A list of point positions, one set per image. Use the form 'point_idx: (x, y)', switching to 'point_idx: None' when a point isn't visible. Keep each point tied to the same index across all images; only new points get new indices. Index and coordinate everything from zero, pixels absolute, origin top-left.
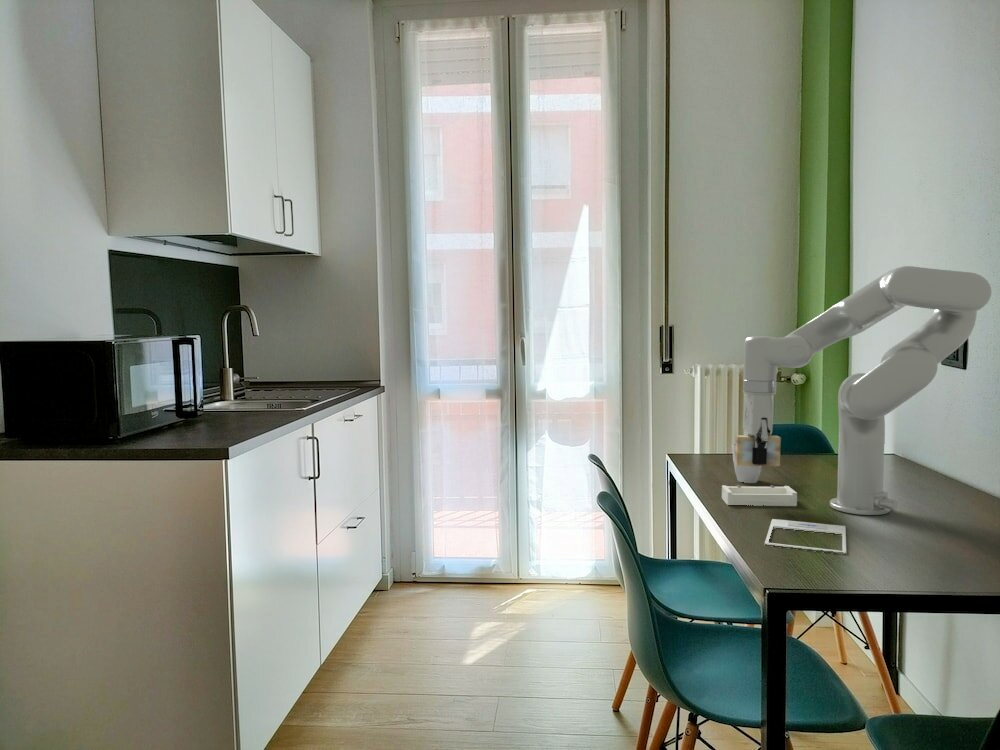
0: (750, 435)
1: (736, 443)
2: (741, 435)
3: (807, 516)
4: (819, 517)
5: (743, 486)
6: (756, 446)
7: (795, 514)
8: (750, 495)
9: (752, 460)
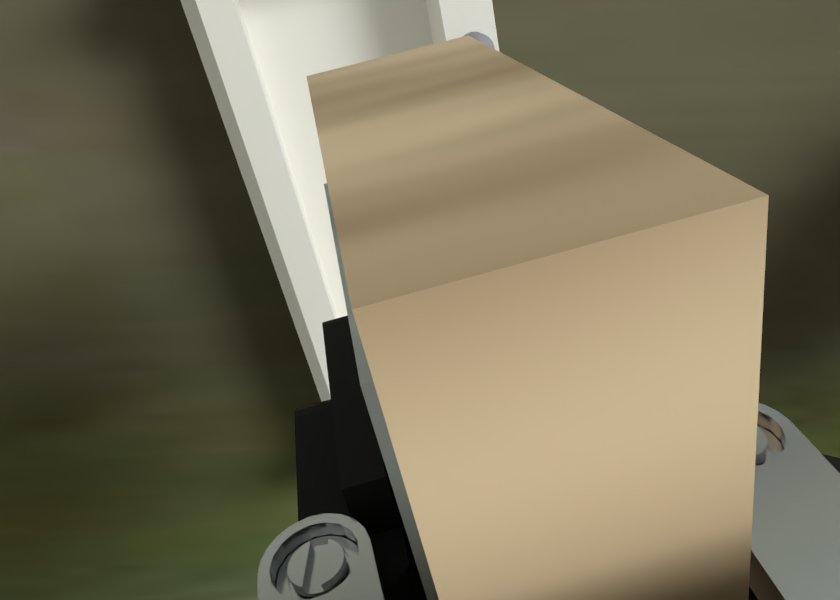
0: (814, 576)
1: (482, 158)
2: (748, 393)
3: (95, 496)
4: (104, 549)
5: None
6: (263, 587)
7: (112, 436)
8: (251, 161)
9: (344, 335)
